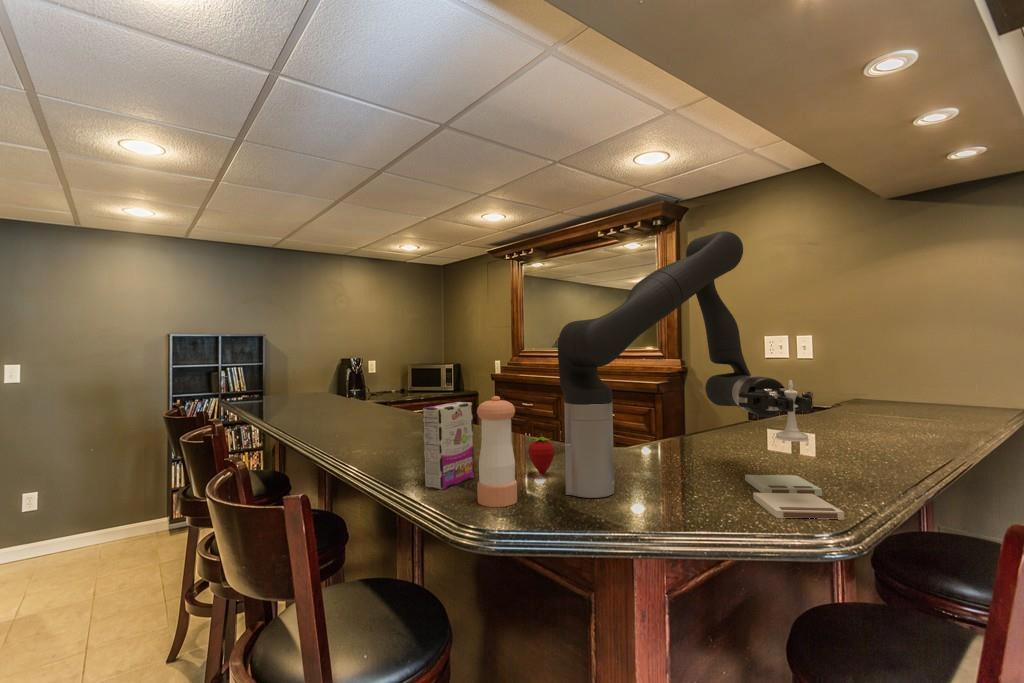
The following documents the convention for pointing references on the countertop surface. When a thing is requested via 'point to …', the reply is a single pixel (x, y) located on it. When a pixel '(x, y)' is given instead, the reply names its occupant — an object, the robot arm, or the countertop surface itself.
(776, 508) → the tile one
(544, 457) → the strawberry
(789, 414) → the chess piece
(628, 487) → the countertop surface
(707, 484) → the countertop surface
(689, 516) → the countertop surface
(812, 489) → the tile two
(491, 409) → the pepper shaker
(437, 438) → the candy bar box
